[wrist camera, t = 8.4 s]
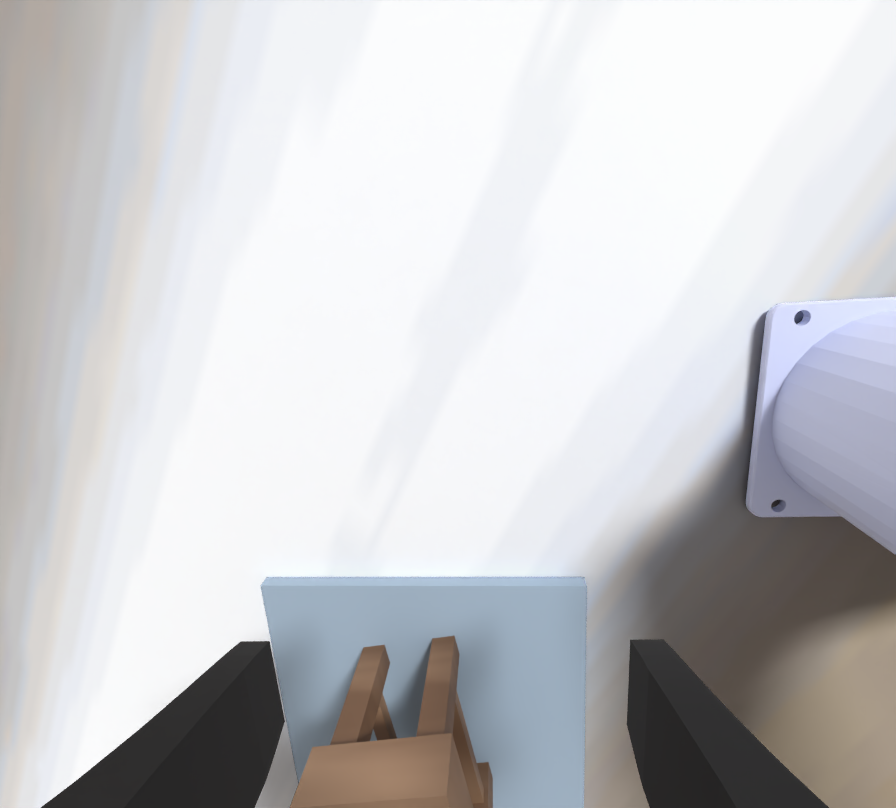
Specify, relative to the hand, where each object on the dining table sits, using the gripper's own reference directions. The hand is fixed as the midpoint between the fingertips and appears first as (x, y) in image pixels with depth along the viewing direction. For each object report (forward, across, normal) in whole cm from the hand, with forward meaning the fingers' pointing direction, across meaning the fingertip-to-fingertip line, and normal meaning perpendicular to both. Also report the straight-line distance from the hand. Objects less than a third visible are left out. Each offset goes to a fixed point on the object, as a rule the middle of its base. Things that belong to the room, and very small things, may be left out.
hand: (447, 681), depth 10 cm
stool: (+10, +2, +12) cm, 16 cm away
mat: (+10, +2, +12) cm, 16 cm away
